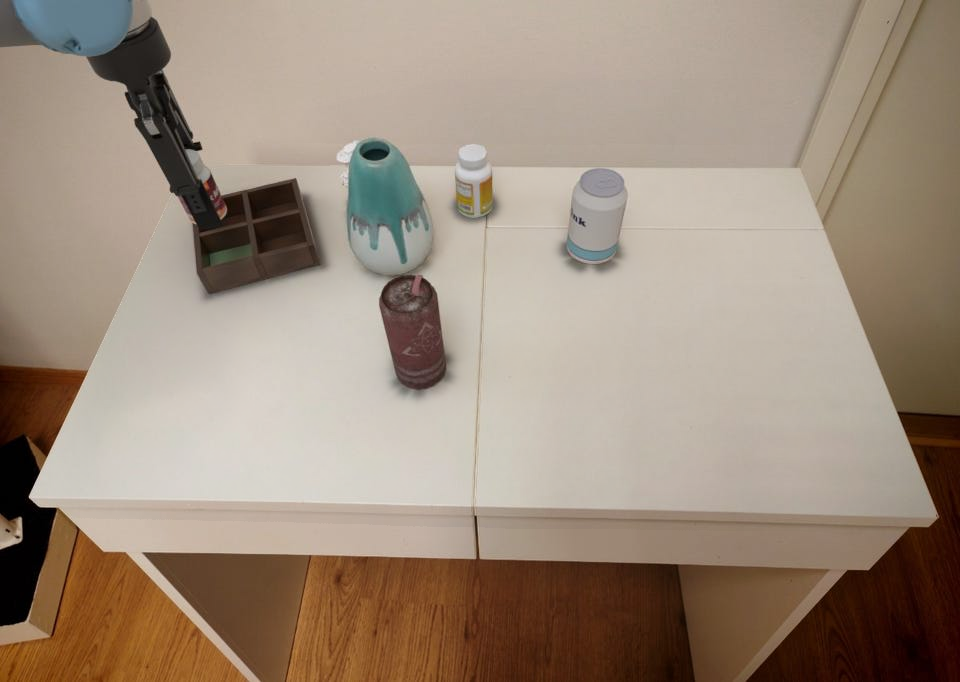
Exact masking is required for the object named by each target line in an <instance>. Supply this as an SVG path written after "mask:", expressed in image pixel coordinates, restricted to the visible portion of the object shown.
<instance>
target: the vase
mask: <svg viewBox="0 0 960 682" xmlns="http://www.w3.org/2000/svg"><path fill="white" fill-rule="evenodd" d="M359 141H360V142H357V145H356V147H355V149H354V151H353V153H352V155H351V158H350V162H349V169H348V184H347V186H348V188H347V199H346V207H345V226H346V235H347V241H348V245H349V247H350V250H351V251H352V253H353V255H354V257H355V258H356V260H357V261H358V262H359V263H360V264H361V265H362V266H363V267H365V268H366V269H368V270H370V271H371V272H373V273H376V274H379V275H383V276H402V275H406V274H407V273H409V272H412V271H413V270H415V269H417V268H418V267H419V266H421V265H422V264H423V262H425V261H426V259H427V258H428V256H429V255H430V252H431V250H432V248H433V244H434V238H435V227H434V221H433V217H432V214H431V211H430V208H429V206H428V203H427V200H426V199H425V196H424V194H423V193H422V190H421V188H420V186H419V184H418V183H417V181H416V179H415V177H414V174H413V172H412V168H411V166H410V164H409V162H408V161H407V158H406V157H405V156H404V154H403V153H402V152H401V150H399V148H398V147H397V146H395V145H394V144H393V143H392V142H390V141H388V140H387V139H384V138H381V137H369V138H365V139H363V140H362V139H361V140H359Z"/></svg>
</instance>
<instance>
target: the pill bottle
mask: <svg viewBox="0 0 960 682" xmlns="http://www.w3.org/2000/svg"><path fill="white" fill-rule="evenodd" d="M185 150H186V153H187V155H188V157H189V159H190V162H191V164H192V166H193V169H194V171H195V173H196V176H197V178H198V179H199V180H200V179H201V180H202V182H203V185H204V187H205V189H206V191H207V193H208V195H209V197H210V199H211V201H212V203H213V205H214V207H215V209H216V211H217V213H218V215H219V217H220V219H222V218H224V216H225V215H226V213H227V207H226V205H225V203H224V200H223V198H222V196H221V195H222V193H221V192H220V189H219V187H218V185H217V183H216V181H215V178H214V176H213V173H212V171H211V169H210V168H209V167H208V166H207V165H206V164H204V162H203V160H202V157H201V155H200V153H199V151H194V150H191V149H185ZM177 199H178V200H179V202H180V204H181V206H182V208H183V209H184V211H185V212H186V215H187V217H188V219H189V221H190V222H191V223H192V222H193V223H194V224H196V222H195V220H194V219H193V217H192V215H191V213H190V211H189V209H188V207H187V205H186V204H185V202H184V200H183V198H182V196H181V195H180V196H177ZM196 225H197V224H196Z"/></svg>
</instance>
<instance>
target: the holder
mask: <svg viewBox="0 0 960 682" xmlns="http://www.w3.org/2000/svg"><path fill="white" fill-rule="evenodd" d="M221 196H222V198H223V200H224V203H225V205H226V207H227V213H226V215H225V216H224V218H222V219H221V221H222V226H218V227H214V228H210V229H206V230H202V231H200V230H199V228H198V226H197V225H196V224H194V223H193V222H191V226H192V235H193V248H194V259H195V269H196V275H197V276H198V277H197V278H199V280H200V282H201V283H202V285H203V287H204V289H205V291H206V292H207V294H208V295H211V294H214V293H218V292H222V291H226V290H230V289H234V288H237V287H241V286H245V285H248V284H253V283H256V282H261V281H265V280H268V279H272V278H275V277H279V276H283V275H286V274H291V273H295V272H299V271H302V270H306V269H310V268H313V267H317V266H318V267H319V266H321V260H320V257H319V252H318V249H317V245H316V242H315V238H314V235H313V230H312V227H311V223H310V220H309V217H308V213H307V209H306V204H305V201H304V197H303V194H302V191H301V188H300V186H299V183H298V180H297V178H296V177H295V178H290V179H285V180H281V181H277V182H272V183H269V184H264V185H260V186H255V187H250V188H247V189H242V190H239V191H234V192H230V193H225V194H221Z"/></svg>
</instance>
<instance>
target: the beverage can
mask: <svg viewBox="0 0 960 682" xmlns="http://www.w3.org/2000/svg"><path fill="white" fill-rule="evenodd" d="M628 195H629V194H628V190H627V187H626V185H625V179H624V177H623V176H622V175H621V174H620V173H619V172H617V171H616V170H613V169H610V168H605V167H594V168H590V169H587V170H586V171H584V172H583V173H582V174H581V176H580V178H579V180H578V181H577V182H576V183H575V185H574V186H573V188H572V196H571V204H570V212H569V213H570V214H569V220H568V229H567V230H568V231H567V238H566V250H567V252H568V254H569V255H570V256H571V257H572V258H573V259H575V260H577V261H578V262H581V263H582V264H583V263H584V264H588V265H598V264H603V263H605V262H608V261H610V260H611V259H612V258H614V256H615V255H616V254H617V249H618V245H619V240H620V235H621V230H622V225H623V221H624V217H625V211H626V208H627V207H626V206H627V201H628Z"/></svg>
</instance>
